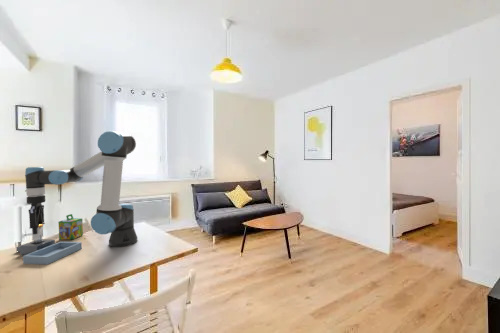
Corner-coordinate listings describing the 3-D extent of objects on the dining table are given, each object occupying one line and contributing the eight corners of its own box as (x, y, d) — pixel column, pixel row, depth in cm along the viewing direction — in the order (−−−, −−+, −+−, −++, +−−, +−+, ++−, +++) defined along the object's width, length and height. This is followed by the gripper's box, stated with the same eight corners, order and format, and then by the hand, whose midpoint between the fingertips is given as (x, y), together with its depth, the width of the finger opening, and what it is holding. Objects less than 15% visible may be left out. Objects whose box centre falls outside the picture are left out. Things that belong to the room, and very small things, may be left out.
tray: (60, 247, 134) (60, 241, 134) (81, 248, 133) (81, 242, 133) (23, 263, 114) (22, 256, 114) (47, 264, 113) (47, 257, 113)
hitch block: (29, 247, 135) (29, 238, 135) (55, 248, 134) (54, 239, 133) (10, 254, 125) (9, 245, 125) (37, 255, 124) (36, 246, 123)
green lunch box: (72, 240, 147) (71, 216, 147) (58, 240, 148) (57, 216, 147) (83, 235, 156) (82, 213, 156) (70, 235, 157) (69, 213, 157)
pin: (34, 249, 130) (33, 224, 130) (45, 248, 132) (44, 223, 132) (31, 252, 126) (30, 226, 126) (42, 251, 128) (41, 225, 128)
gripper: (33, 194, 135) (35, 234, 135) (19, 198, 119) (21, 244, 119) (50, 193, 138) (52, 232, 138) (38, 197, 122) (40, 242, 122)
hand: (38, 238), depth 129 cm, fingers closed on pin, 5 cm apart
